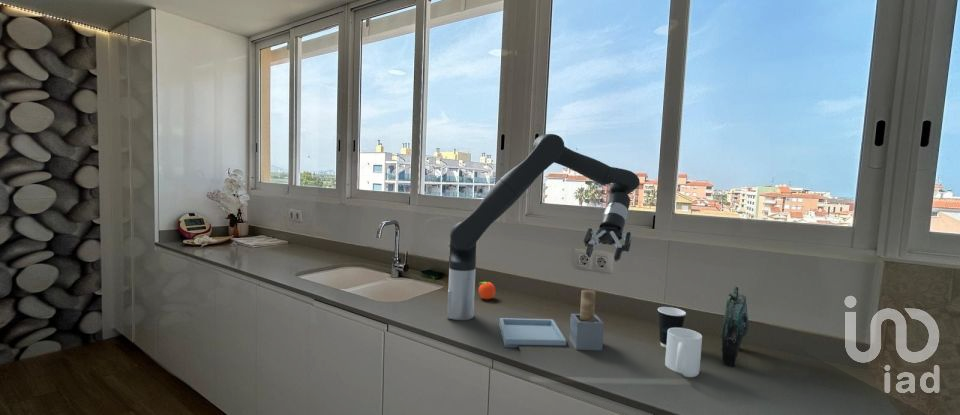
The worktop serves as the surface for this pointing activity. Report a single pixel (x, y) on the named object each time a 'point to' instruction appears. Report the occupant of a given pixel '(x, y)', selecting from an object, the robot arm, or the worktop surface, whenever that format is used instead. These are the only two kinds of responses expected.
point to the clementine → (487, 290)
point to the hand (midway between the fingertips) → (602, 257)
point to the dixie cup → (669, 321)
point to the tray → (530, 332)
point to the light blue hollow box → (586, 333)
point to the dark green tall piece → (734, 327)
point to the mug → (683, 351)
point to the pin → (587, 305)
